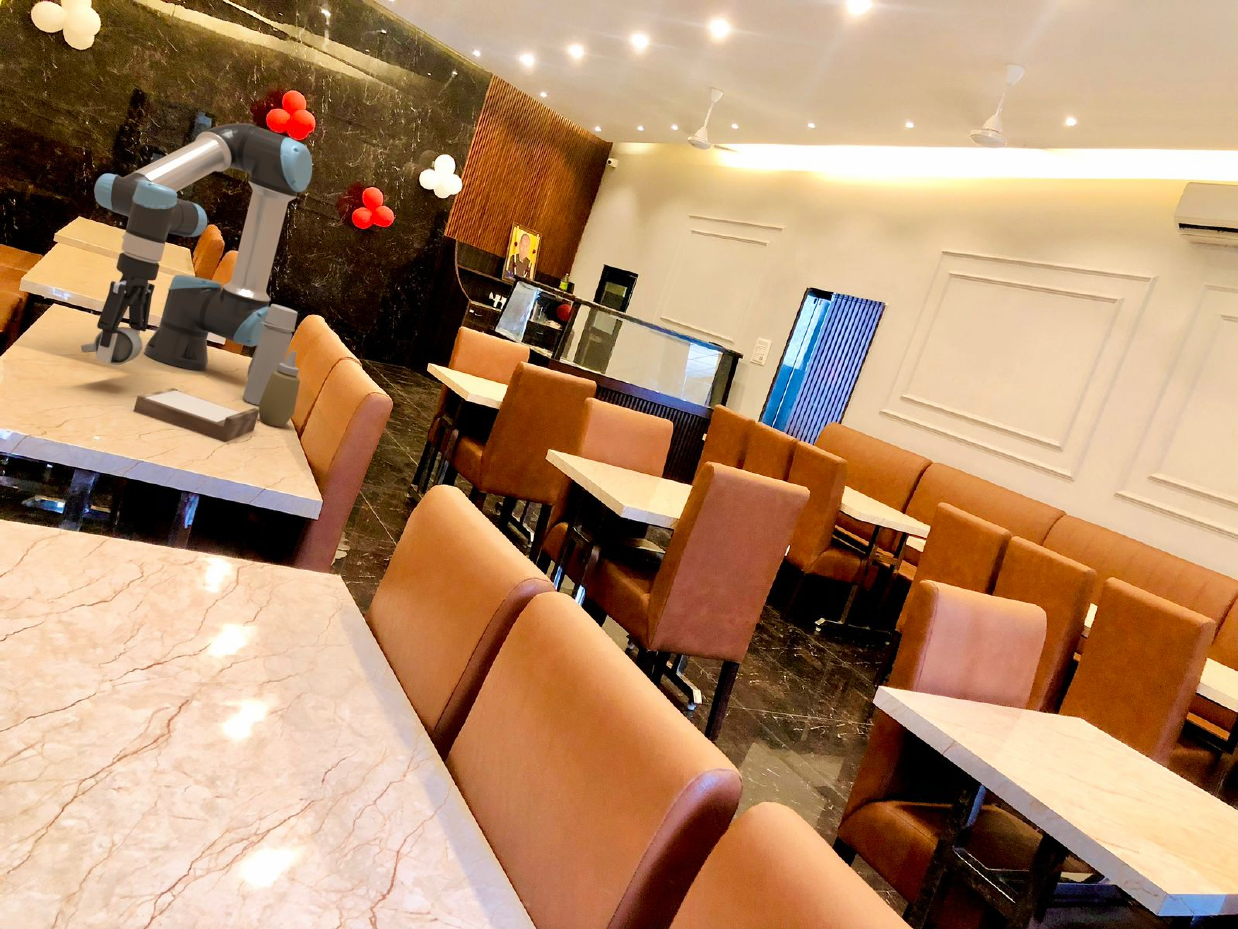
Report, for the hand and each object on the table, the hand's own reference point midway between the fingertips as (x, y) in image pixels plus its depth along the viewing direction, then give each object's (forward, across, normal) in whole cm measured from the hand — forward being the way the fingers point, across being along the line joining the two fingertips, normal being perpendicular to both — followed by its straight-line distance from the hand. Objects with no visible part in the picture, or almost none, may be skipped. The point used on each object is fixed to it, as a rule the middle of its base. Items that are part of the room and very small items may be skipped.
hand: (114, 359), depth 187 cm
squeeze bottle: (+7, -17, +30) cm, 35 cm away
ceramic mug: (0, +1, -1) cm, 1 cm away
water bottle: (+7, -32, +20) cm, 39 cm away
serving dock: (+6, +3, +20) cm, 22 cm away
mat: (+3, +3, +19) cm, 20 cm away
